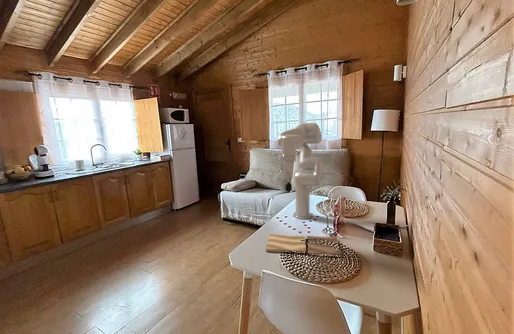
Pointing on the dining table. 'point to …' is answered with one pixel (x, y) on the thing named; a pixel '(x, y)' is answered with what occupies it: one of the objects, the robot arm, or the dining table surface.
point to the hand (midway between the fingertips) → (288, 190)
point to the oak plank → (286, 243)
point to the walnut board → (322, 246)
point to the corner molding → (366, 224)
